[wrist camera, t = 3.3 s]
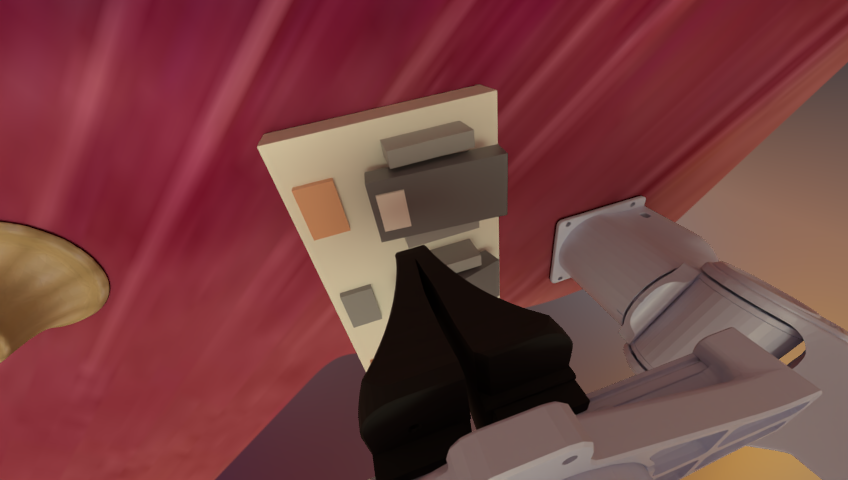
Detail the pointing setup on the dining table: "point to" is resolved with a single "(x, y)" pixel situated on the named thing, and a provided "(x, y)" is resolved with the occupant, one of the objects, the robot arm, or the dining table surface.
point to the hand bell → (43, 284)
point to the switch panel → (349, 203)
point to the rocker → (439, 192)
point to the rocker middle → (484, 274)
